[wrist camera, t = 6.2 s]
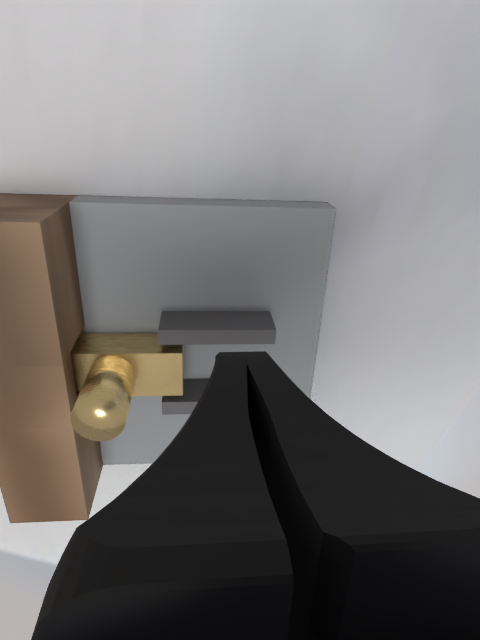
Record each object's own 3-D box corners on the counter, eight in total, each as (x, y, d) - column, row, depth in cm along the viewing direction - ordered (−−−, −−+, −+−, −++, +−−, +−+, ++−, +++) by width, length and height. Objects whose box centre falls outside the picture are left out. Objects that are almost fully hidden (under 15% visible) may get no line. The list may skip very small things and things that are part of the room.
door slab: (326, 202, 20) (350, 219, 17) (296, 440, 26) (309, 484, 23) (78, 195, 19) (54, 212, 16) (108, 445, 25) (95, 492, 22)
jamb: (78, 195, 19) (39, 222, 14) (108, 445, 25) (88, 519, 20) (-7, 193, 18) (-74, 220, 14) (45, 447, 24) (9, 523, 20)
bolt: (183, 332, 20) (178, 394, 16) (184, 372, 21) (180, 441, 17) (28, 333, 20) (-22, 397, 15) (36, 373, 20) (-9, 445, 16)
